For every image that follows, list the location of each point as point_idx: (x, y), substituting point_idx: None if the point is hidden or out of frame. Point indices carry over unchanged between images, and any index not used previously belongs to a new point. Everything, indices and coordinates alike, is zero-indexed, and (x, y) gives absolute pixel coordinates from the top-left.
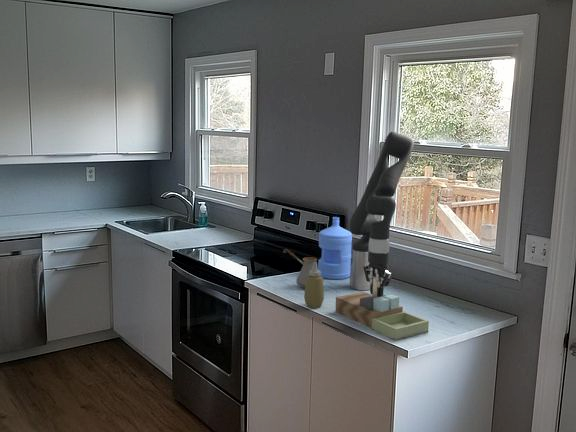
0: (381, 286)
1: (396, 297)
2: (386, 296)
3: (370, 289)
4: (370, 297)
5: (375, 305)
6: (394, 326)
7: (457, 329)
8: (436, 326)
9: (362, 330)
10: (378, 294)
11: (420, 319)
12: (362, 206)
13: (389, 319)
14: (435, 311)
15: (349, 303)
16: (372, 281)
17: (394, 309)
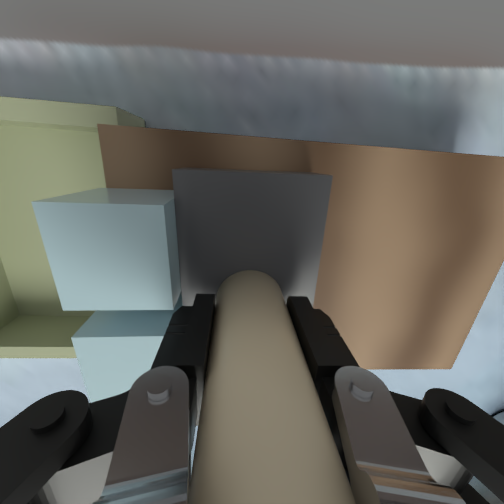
0: (123, 402)
1: (93, 389)
2: (157, 347)
3: (331, 327)
4: (287, 271)
5: (150, 194)
6: None
7: (4, 411)
8: (60, 380)
9: (160, 58)
10: (193, 306)
11: (11, 344)
12: None
13: None
14: (191, 458)
15: (397, 149)
16: (341, 426)
17: None
